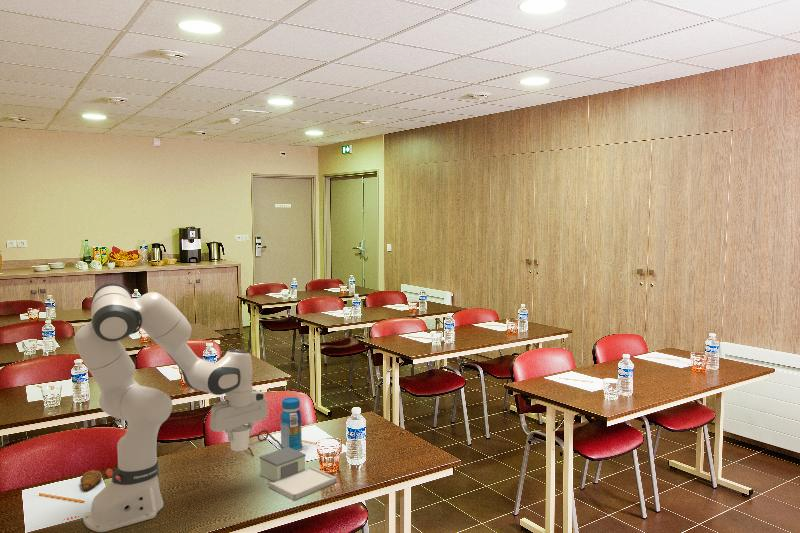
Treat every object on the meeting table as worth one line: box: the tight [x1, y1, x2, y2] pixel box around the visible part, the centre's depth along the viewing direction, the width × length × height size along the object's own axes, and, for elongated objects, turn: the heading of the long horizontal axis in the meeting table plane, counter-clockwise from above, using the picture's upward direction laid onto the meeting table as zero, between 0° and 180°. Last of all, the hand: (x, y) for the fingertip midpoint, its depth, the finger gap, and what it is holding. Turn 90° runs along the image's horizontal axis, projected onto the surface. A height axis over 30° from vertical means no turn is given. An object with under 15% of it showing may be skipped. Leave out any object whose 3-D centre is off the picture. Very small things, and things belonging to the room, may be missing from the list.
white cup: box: [229, 424, 250, 452], centre depth 200 cm, size 7×7×7 cm
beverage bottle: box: [279, 397, 303, 452], centre depth 233 cm, size 8×8×20 cm
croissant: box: [80, 469, 103, 492], centre depth 203 cm, size 14×7×5 cm, turn 14°
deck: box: [258, 447, 337, 501], centre depth 206 cm, size 18×25×7 cm
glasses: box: [247, 429, 281, 457], centre depth 236 cm, size 13×13×5 cm
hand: (239, 437), depth 200 cm, fingers closed on white cup, 5 cm apart
